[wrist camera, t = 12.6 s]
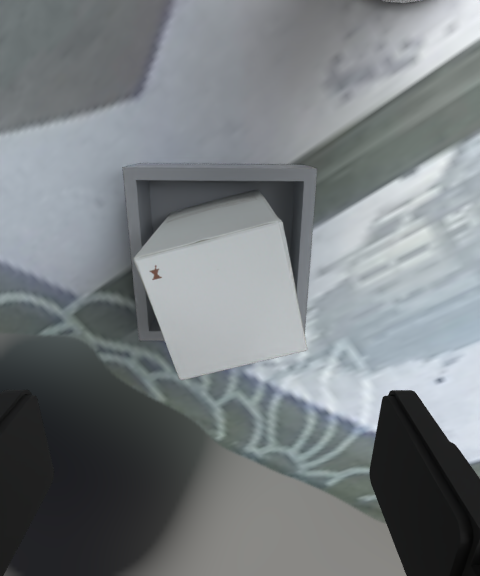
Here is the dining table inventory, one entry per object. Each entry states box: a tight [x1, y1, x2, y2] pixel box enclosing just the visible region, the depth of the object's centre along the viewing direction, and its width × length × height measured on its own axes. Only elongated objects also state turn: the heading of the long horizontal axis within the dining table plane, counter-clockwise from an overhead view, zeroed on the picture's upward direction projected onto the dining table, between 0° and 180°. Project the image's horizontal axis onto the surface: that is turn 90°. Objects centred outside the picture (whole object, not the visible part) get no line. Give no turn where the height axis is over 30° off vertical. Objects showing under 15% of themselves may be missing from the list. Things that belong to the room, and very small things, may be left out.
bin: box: [122, 163, 317, 341], centre depth 29 cm, size 13×13×5 cm
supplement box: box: [133, 190, 307, 380], centre depth 25 cm, size 7×7×13 cm
